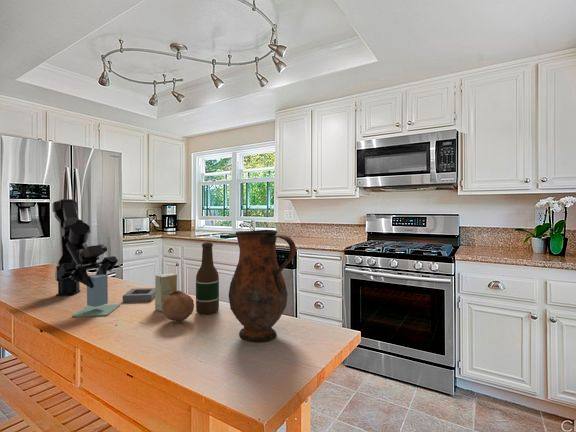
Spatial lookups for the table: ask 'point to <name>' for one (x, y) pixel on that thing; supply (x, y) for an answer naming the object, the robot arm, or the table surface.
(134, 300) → the square socket block
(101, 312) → the green mat
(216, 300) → the beer bottle
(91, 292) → the tall square blue prism
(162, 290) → the skincare box
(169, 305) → the onion
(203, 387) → the table surface
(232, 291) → the pitcher
